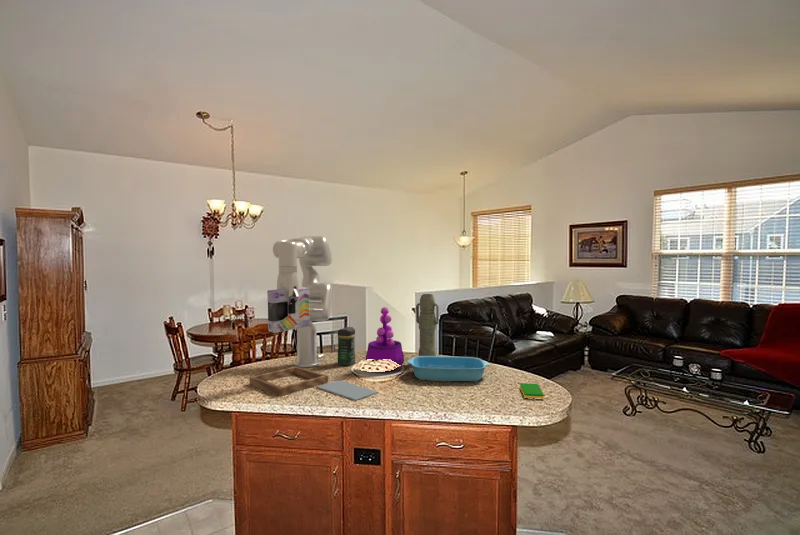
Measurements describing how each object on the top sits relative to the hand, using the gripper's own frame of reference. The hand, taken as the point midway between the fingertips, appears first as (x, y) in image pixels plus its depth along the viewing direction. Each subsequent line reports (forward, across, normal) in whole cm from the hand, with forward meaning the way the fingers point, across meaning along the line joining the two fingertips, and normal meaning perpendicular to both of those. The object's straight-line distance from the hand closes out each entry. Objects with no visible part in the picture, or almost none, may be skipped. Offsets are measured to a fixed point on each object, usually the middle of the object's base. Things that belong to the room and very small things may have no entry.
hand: (288, 312), depth 182 cm
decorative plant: (+31, +15, +44) cm, 56 cm away
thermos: (+31, +23, +67) cm, 77 cm away
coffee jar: (+31, -6, +38) cm, 49 cm away
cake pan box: (+8, 0, 0) cm, 8 cm away
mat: (+31, +26, +10) cm, 41 cm away
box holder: (+31, 0, 0) cm, 31 cm away
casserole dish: (+31, +45, +54) cm, 77 cm away
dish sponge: (+31, +84, +56) cm, 106 cm away
